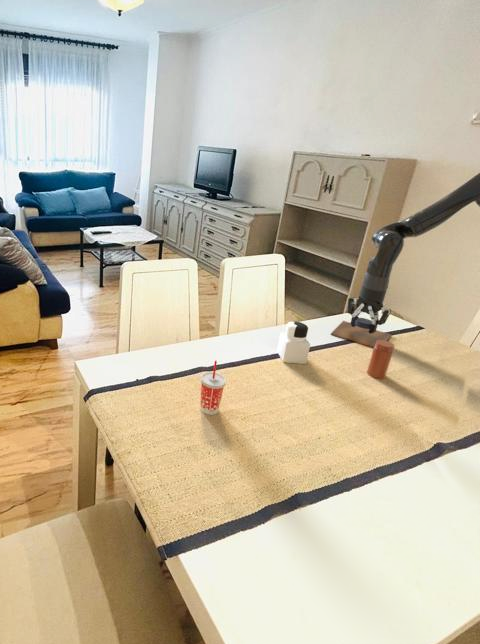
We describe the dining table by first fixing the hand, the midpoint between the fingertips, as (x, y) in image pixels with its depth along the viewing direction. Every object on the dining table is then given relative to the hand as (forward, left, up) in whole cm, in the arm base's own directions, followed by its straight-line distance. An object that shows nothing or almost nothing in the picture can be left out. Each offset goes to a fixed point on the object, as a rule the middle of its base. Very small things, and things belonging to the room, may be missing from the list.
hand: (362, 329), depth 140 cm
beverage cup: (+17, +78, -2) cm, 80 cm away
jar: (-10, +27, -2) cm, 29 cm away
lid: (0, 0, +3) cm, 3 cm away
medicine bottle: (+12, +36, -2) cm, 38 cm away
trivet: (0, 0, -2) cm, 2 cm away
